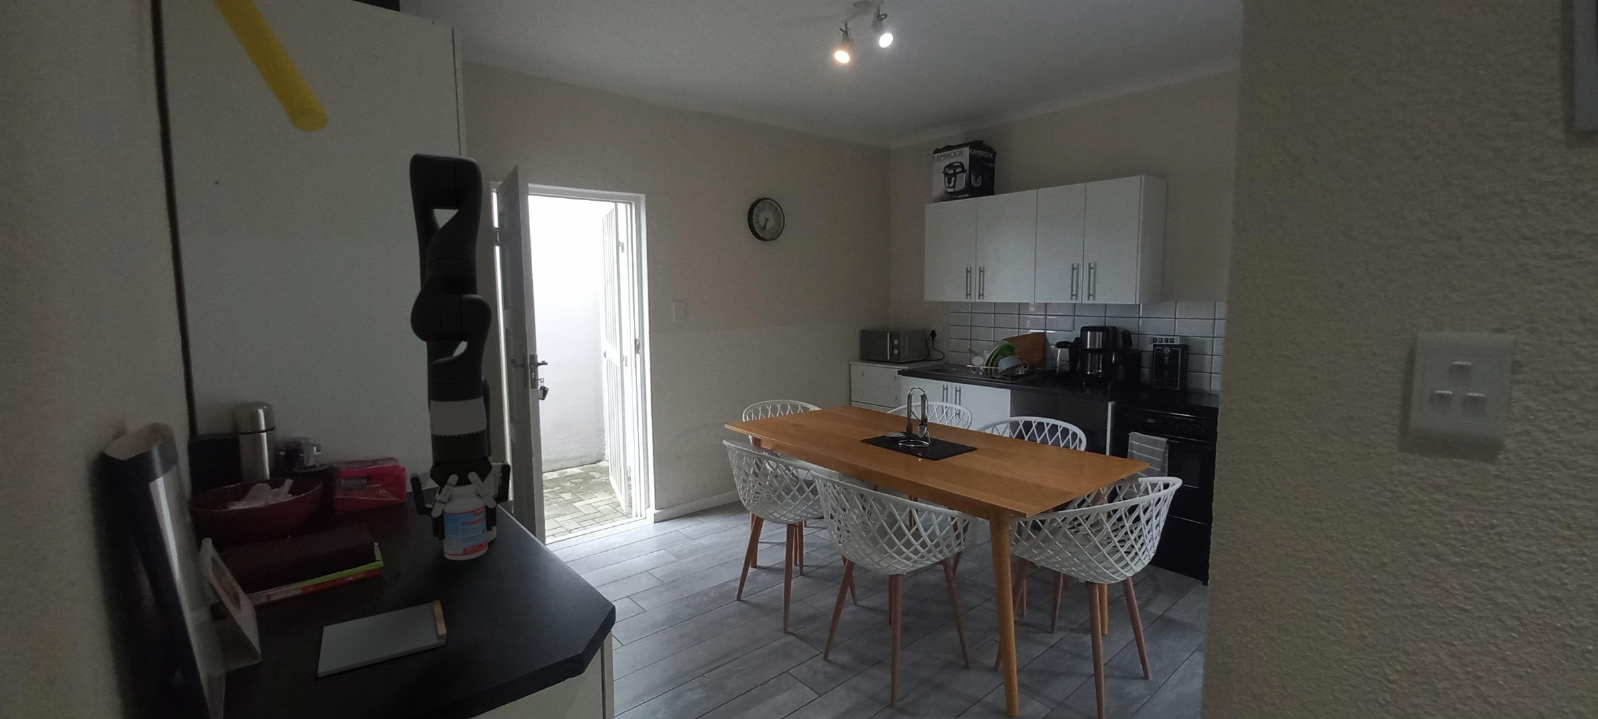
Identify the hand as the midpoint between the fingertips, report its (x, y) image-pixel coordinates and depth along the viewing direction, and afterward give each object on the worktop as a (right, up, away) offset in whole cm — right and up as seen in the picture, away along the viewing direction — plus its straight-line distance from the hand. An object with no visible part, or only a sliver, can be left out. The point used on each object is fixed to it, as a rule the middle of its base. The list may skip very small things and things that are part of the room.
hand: (465, 533), depth 103 cm
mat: (-10, -14, -5) cm, 18 cm away
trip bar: (-4, -14, -1) cm, 14 cm away
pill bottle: (0, -3, 0) cm, 3 cm away
